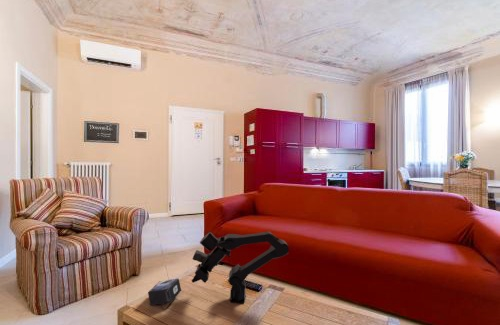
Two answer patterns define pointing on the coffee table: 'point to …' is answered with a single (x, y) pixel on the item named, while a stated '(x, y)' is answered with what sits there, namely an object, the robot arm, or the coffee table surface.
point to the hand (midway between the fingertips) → (192, 281)
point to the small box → (164, 291)
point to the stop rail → (165, 305)
